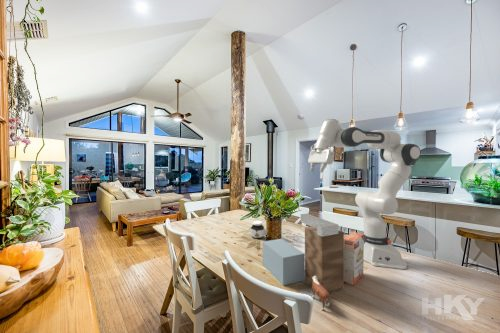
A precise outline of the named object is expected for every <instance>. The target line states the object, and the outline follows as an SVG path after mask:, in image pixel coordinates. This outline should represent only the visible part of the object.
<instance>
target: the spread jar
mask: <svg viewBox="0 0 500 333" xmlns="http://www.w3.org/2000/svg"><path fill="white" fill-rule="evenodd" d="M266 229H267V228H266V227H265V226H264V225H263V222H262V221H260V220H255V221H253V222H252V226H251V227H250V235H251V237H252V238H253V239H254V240H261V239H263V238H264V237H267V236H266Z"/></svg>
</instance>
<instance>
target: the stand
mask: <svg viewBox="0 0 500 333" xmlns="http://www.w3.org/2000/svg"><path fill="white" fill-rule="evenodd" d="M344 234H345V232H344V231H343V230H340V229H338V234H334V235H328V236H319V235H317V229H316V228H314V227H311V226H307V227H304V254H305V280H304V282H305V283H306V284H307V285H309V287H311V288H312V281H313V279H310V277H313V276H317V278H318V279H321V280H320V281H319V280H318V282H319V283H320V284H321V285H322V286H323V287H324V288H325V289H326V290H327V292H328V293H329V294H332V293H335V292H339V291H342V290H344V282H343V276H344V238H345V237H344Z"/></svg>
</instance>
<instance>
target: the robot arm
mask: <svg viewBox="0 0 500 333" xmlns="http://www.w3.org/2000/svg"><path fill="white" fill-rule="evenodd" d="M401 140H402V136H401V135H400V133H398V132H396V131H392V130H389V129H375V130H371V131H369V130H368V131H367V130H363V129H360V128H359V127H356V126H351V127H347V128H345V129H344V128H343V127H342V126H341V124H340V122H339V120H337V119H334V118H329V119H326V120H324V121H323V122H322V125H321V127H320V129H319V135H318V138H317V139H316V142H315V143H314V144H313V145H311V147H310V152H309V155H308V159H307V163H308V164H310V169H309V171H310V172H313V173H314V172H315V170H316V169H315V167H316V165H321V166H320V168H319V170H318V172H320V173H324V171H325V169H326V168H327V165H332V164H333V162H334V159H335V158H334V157H335V148H337V149H338V148H339V149H341V148H349V147H350V148H351V147H352V148H353V147H354V148H355V147H358V146H360V145H361V144H366V145H367V147H368V148H369V149H370V148H371V149H376V150H379V157H380V159H381V161H383V162H385V163H389V164H390V163H391V166H390V167H389V168H388V170H387V171H386V172H385V173H384V174H383V175H382V176H381V178H380V179H379V180H378V182H377V185H378V188H379V189H378V190H377V191H376V192H373V191H369V190H368V191H367V190H365V191H360V192H357V194H356V195H355V198H354V199H355V201H354V202H355V203H356V205H357V206H358V208H359V211H360V213H361V216H362V218H363V233H362V234H364V261H365V262H367V263H369V264H371V265H372V266H375V267H382V268H389V269H398V270H400V269H401V270H406V269H407V268H408V263H407V261H406V260H405V259H403V256H402V254H401V252H400V250H399V249H398V248H396V247H395V246H394V245H392V240H391V239H390V237H389V236H387V235H386V234H387V227H386V226H387V224H386V221H385V220H384V219H383V218H382V216H381V215H393V214H395V213H396V212H397V211H398V208H399V204H398V200H397V199H396V197H397V195H398V192H399V191H400V190H401V189H402V187H403V186H404V184H406V182H407V181H408V178H409V177H410V176H411V174H412V167H411V166H414V165H415V164H416V162H418V160H419V159H420V158H421V155H422V152H421V148H420V147H419V146H418V145H417V144H414V143H401ZM334 147H335V148H334Z"/></svg>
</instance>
